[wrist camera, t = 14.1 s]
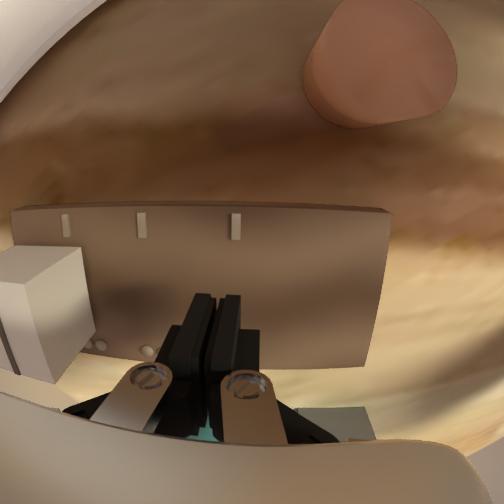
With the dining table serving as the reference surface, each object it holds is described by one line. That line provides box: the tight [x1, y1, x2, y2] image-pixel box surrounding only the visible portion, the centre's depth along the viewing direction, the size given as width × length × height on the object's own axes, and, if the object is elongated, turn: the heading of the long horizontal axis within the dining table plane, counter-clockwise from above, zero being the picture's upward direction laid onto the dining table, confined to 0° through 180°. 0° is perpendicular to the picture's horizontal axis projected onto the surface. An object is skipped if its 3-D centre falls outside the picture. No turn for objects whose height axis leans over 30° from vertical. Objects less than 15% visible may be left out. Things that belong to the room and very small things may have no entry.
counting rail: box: [10, 201, 392, 369], centre depth 16 cm, size 9×21×2 cm, turn 89°
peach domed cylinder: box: [302, 0, 457, 129], centre depth 11 cm, size 5×5×6 cm
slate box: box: [297, 407, 376, 442], centre depth 19 cm, size 5×5×4 cm
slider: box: [0, 245, 96, 384], centre depth 13 cm, size 5×5×5 cm
